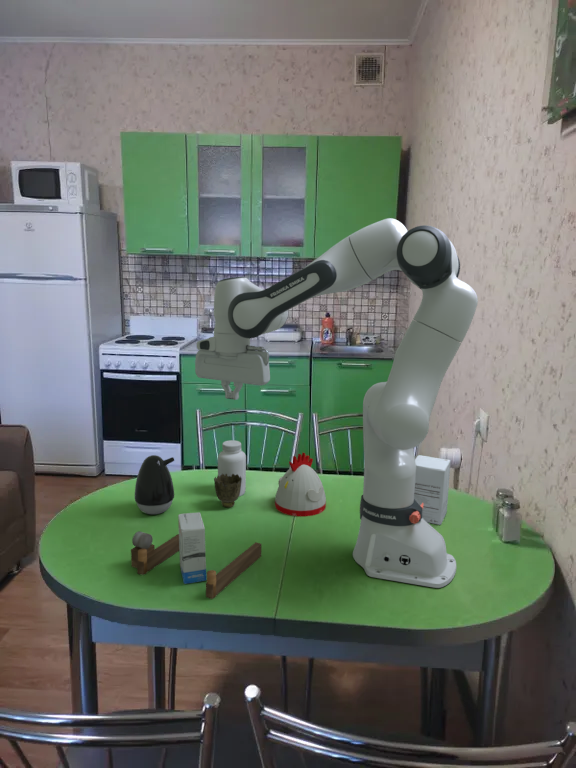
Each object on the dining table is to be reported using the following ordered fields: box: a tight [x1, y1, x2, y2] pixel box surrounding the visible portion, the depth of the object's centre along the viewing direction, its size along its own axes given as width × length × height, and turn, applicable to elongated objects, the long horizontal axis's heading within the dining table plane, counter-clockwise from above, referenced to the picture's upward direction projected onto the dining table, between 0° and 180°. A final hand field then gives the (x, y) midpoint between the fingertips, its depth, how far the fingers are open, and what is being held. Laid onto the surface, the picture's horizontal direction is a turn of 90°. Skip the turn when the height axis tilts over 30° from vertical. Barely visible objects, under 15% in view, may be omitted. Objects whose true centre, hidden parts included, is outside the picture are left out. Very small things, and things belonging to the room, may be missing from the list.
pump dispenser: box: [134, 454, 175, 515], centre depth 145 cm, size 10×10×15 cm
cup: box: [213, 474, 242, 508], centre depth 149 cm, size 8×7×8 cm
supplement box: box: [414, 455, 451, 526], centre depth 145 cm, size 9×9×15 cm
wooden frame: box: [130, 530, 262, 600], centre depth 120 cm, size 22×19×7 cm
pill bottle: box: [217, 439, 247, 497], centre depth 157 cm, size 8×8×15 cm
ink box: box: [177, 511, 207, 585], centre depth 115 cm, size 9×5×12 cm, turn 16°
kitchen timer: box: [274, 452, 327, 517], centre depth 149 cm, size 14×14×15 cm
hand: (232, 398), depth 138 cm, fingers closed
